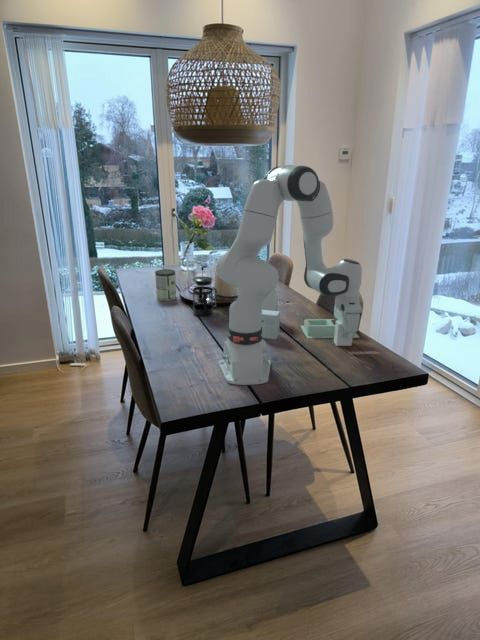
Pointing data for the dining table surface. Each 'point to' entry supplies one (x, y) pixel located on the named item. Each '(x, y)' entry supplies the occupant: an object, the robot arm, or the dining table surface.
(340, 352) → the dining table surface
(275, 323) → the small box
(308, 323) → the dock
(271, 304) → the milk bottle
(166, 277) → the coffee can
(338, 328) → the plug block
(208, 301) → the french press
